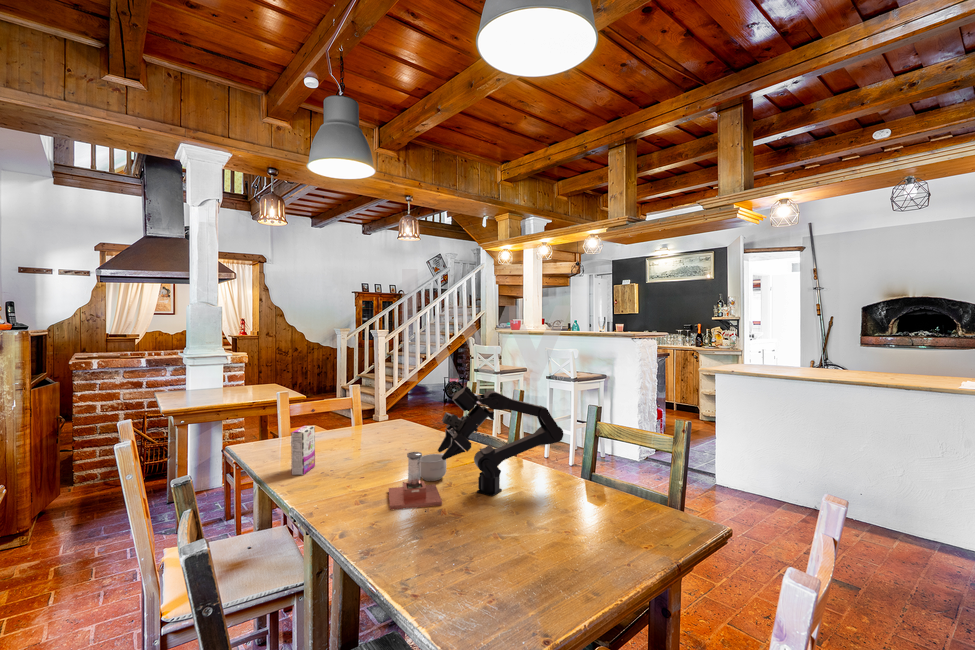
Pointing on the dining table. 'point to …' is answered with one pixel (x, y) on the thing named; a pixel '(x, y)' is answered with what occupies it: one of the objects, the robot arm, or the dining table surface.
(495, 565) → the dining table surface
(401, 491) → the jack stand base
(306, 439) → the candy bar box
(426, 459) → the teacup
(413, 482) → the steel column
